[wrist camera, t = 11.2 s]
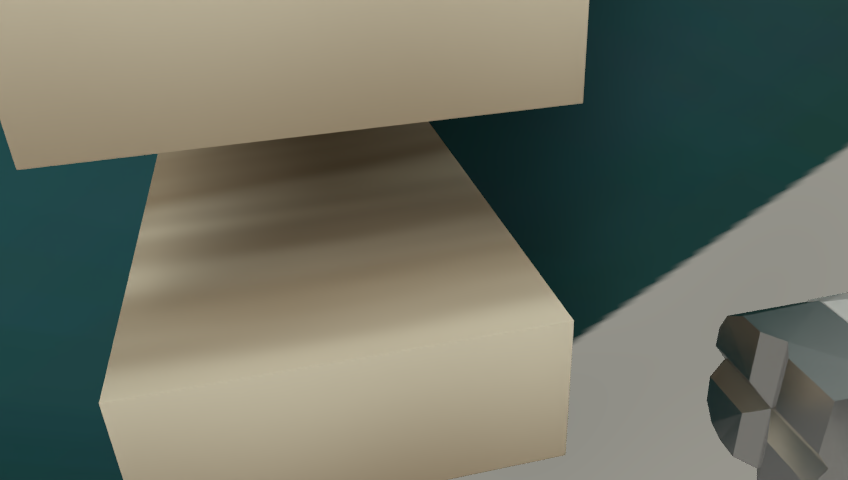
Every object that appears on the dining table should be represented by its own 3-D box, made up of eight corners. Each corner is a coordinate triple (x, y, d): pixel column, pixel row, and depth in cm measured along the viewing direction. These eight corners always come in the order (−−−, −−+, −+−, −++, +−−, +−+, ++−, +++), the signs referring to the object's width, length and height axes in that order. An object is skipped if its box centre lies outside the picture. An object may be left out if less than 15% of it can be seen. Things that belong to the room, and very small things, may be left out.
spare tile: (169, 104, 16) (98, 403, 7) (397, 79, 17) (573, 321, 8) (187, 188, 17) (144, 542, 8) (402, 161, 18) (564, 455, 9)
